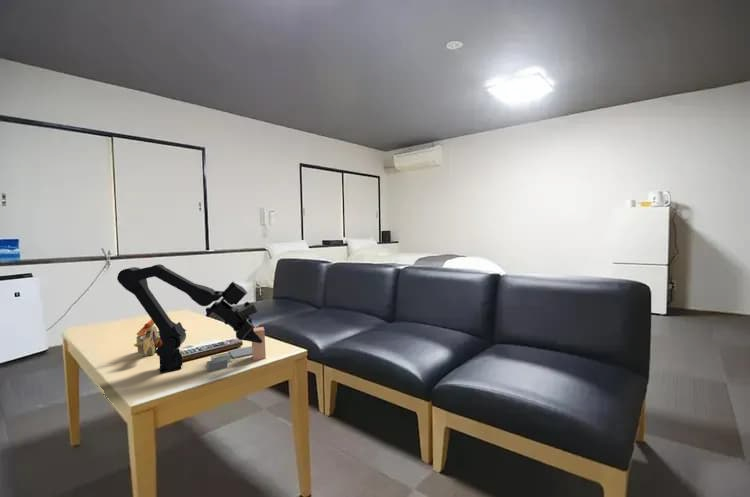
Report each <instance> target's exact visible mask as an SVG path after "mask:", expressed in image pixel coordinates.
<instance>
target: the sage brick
mask: <svg viewBox="0 0 750 497" xmlns="http://www.w3.org/2000/svg"><path fill="white" fill-rule="evenodd" d="M224 357H225V358H226V359H227V364H228V363H231V362H232V359H231V358H232V357H231V355H230V353H229V352H225V353H219V354H215V355H211V356H210V361H212V360H216V359H220V358H224Z"/></svg>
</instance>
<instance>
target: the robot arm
mask: <svg viewBox="0 0 750 497" xmlns="http://www.w3.org/2000/svg"><path fill="white" fill-rule="evenodd" d="M150 278H158V279H159V280H161V281H162V282H165V283H167V284H168V285H170V286H171V287H174V288H175V289H178V290H179V291H181V292H183V293H185V294H186V295H188V296H189V298H190V299H191V300H193V301H194V302H195V303H196V304H197V305H198V306H201V307H206V308H205V312H206V317H209V316H210V315H211V314H214V316H216V317H217V318H218V319H220V320H221V321H223V323H224V325H228V326H230V328H232V329H233V331H234V332H235V337H236V339H237V340H239V341H247V342H251V343H252V342H256V343H262V340H261V338H260V337H259V336H258V335H257V334H256V333H255V332H254V328H256V326H254V324H253V323H252V321H253V320H252V317H251V316H252V315H253V314H256V313H257V312H258V308H257V305H255V303H254V302H249V301H246V302H244V304H243V305H244V306H243V307H242V308H240V309H238V308H234V307H233V306H232V305H238V304H239V302H240V301H241V300H242V299H244V298H245V296H246V295H248V292H247V289H245V288H244V287H243V286H241V285H240V284H237V283H235V282H234V281H232V282H230V283H229V285H228V286H227V287H226V289H225V290H215V289H214V288H211V287H208V286H205V285H202V284H198V283H194V282H193V281H191V280H189V279H188V278H186V277H184V276H182V275H180V274H178V273H176V272H174V271H173V270H171V269H169V268H167V267H166V266H165V265H163V264H161V263H159V264H154V265H152V266H148V267H142V268H140V267H135V266H134V267H133V266H132V267H128V268H124V269H121V270H120V271H119V272H118V274H117V277H116V280H117V282H118V283H119V284H120V285H121V286H122V287H123V289H125V290H126V291H128V292H130V293H131V294H133V295H134V296H135V297H136V299H137V300H138V302H139V303H140V305H141V306H142V308H143V309H144V310H145V313H146V314H148V316H149V318H150V320H151V319H152V320H153V322H154V326H155V327H156V329H157V331H158V333H159V335H158V336H159V340H160V339H161V341H162V343H163V344H162V345H161V346H160V347H159V348H157V349H156V351H155V353H156V355H157V356H158V357H159V374H163V373H167V372H169V373H170V372H172V371H177V370H182V366H183V354H182V352H181V350H180V348H181V345H182V344H183V343H184V342H185V340H186V339H187V333H186V331H187V330H186V329H185V328H184V327H183V325H182V323H181V322H180V321H179V322H177V323H175V322H174V321H172V320H171V318H170V317H169V316H168V314H167V312H166V310H164V308H163V307H162V306H161V304H160V302H159V301H158V300H157V298H156V297H155V295H154V294H153V292H152V291H151V290H150V288H149V283H148V279H150ZM211 304H212V305H211ZM210 305H211V306H210ZM208 306H209V307H208Z"/></svg>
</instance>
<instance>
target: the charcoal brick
mask: <svg viewBox="0 0 750 497" xmlns="http://www.w3.org/2000/svg"><path fill="white" fill-rule="evenodd" d="M226 368H228V363H227V359H226V358H225V357H224V358H220V359H216V360H212V361H211V360H209V361H206V369H207V372H209V373H211V372H215V371H220V370H222V369H226Z"/></svg>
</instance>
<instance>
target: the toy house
mask: <svg viewBox="0 0 750 497" xmlns="http://www.w3.org/2000/svg"><path fill="white" fill-rule="evenodd" d="M144 335H145V336H144ZM136 336H137V337H141V336H144V337H145V338H144V340H142V341H140V342H138V344H137V354H138V355H139V356H143V355H146V354H147V356H153V355H154V354H155V352H156V350H157V349H158V348H159V347H160V346H161V345H162V344H163V343H162V341H161V339H160V338H159V337H158V336H159V335H158V328H157V326H156V325H155V323H154V322H153V320H152V319H151V318H150V320H149V321H148V322H147V323H145V324H144V325H143V327H142V328H140V330H139V331H137V332H136Z"/></svg>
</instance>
